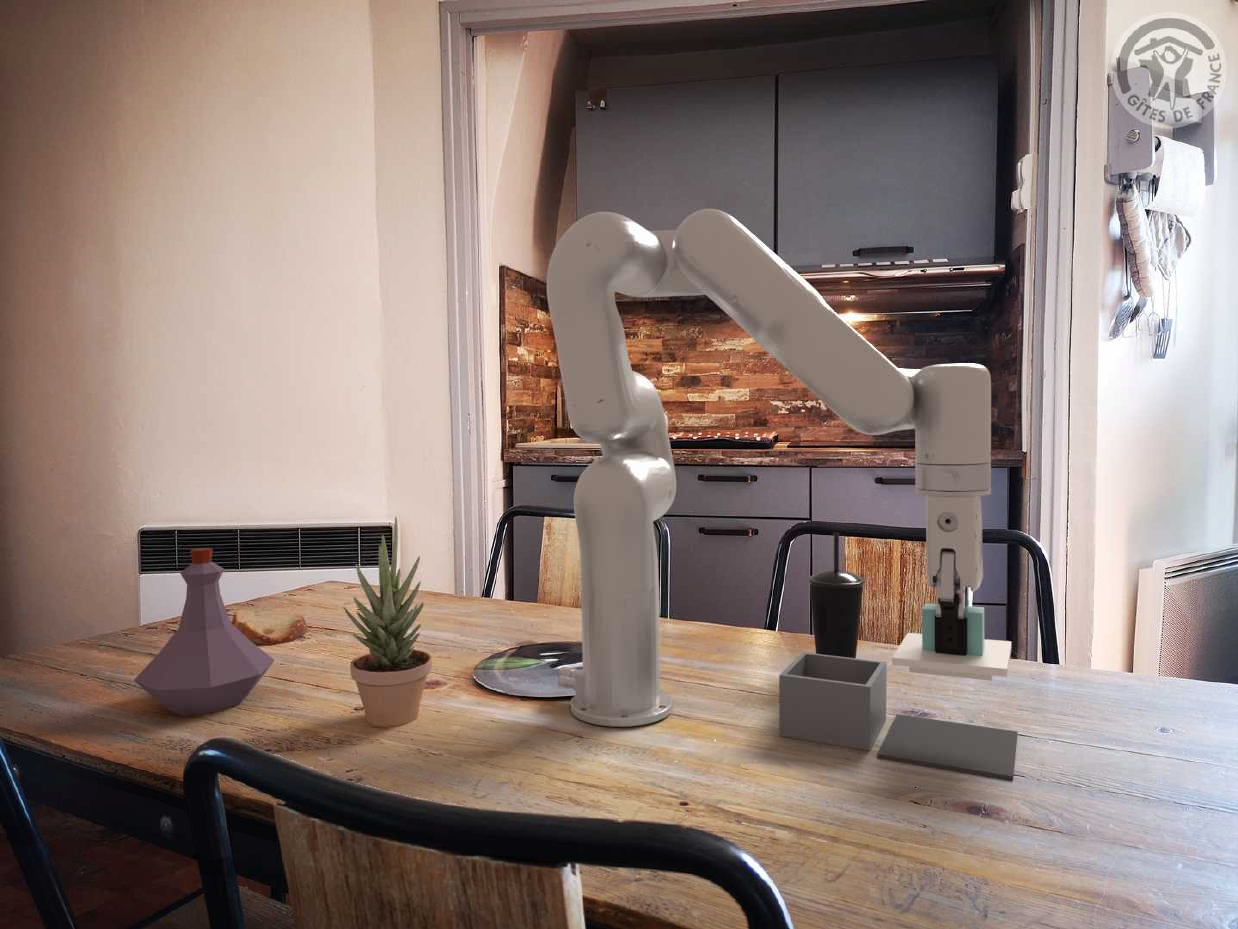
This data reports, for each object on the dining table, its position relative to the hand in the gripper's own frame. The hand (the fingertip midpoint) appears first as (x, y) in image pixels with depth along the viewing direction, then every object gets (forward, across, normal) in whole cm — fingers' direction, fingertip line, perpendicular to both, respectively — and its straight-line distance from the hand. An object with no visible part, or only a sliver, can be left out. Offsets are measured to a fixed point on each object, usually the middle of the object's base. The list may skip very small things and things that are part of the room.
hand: (952, 648), depth 91 cm
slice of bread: (+10, +4, +112) cm, 112 cm away
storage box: (+11, 0, +13) cm, 17 cm away
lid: (+2, 0, 0) cm, 2 cm away
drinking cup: (+11, +19, +17) cm, 28 cm away
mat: (+11, 0, 0) cm, 11 cm away
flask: (+10, -25, +88) cm, 92 cm away
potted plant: (+10, -19, +62) cm, 66 cm away
